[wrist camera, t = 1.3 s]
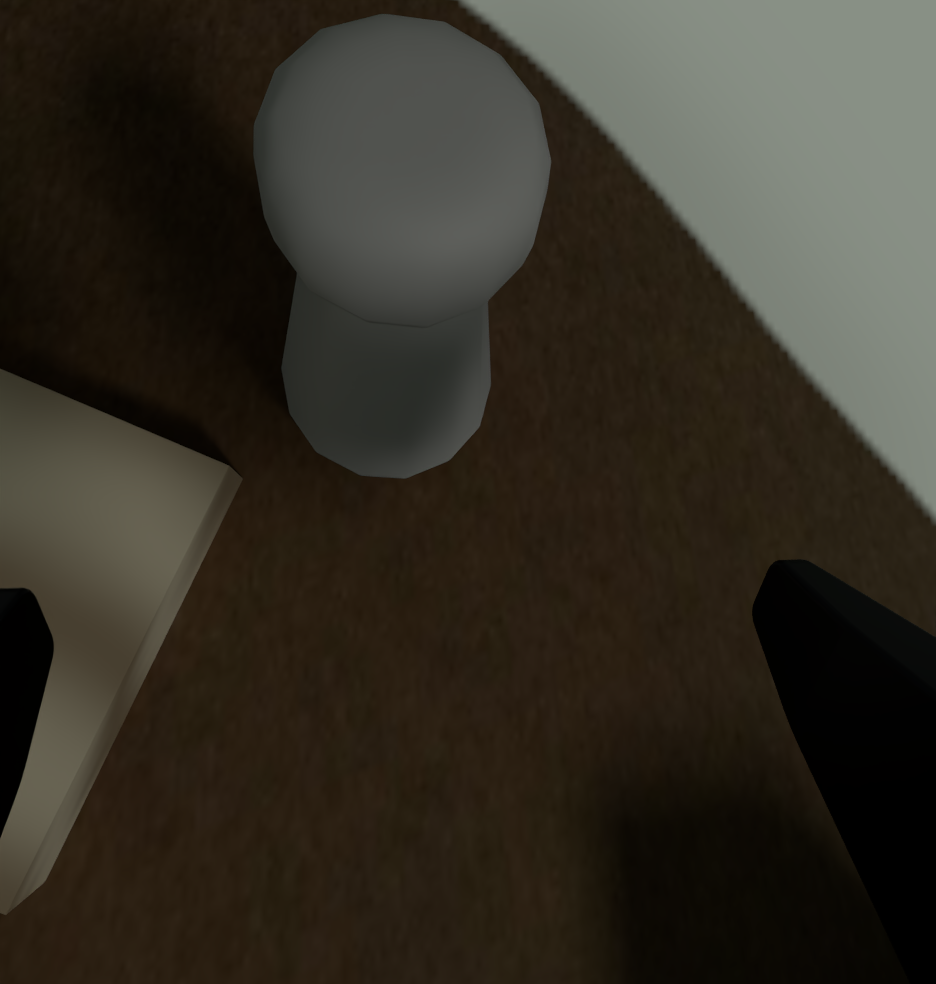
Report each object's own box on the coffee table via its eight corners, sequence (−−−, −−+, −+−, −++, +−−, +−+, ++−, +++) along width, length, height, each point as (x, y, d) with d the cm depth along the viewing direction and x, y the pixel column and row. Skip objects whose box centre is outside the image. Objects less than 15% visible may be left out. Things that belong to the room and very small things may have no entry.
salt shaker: (257, 433, 21) (79, 170, 8) (350, 284, 22) (318, -148, 9) (425, 525, 21) (502, 405, 8) (508, 371, 22) (685, 65, 10)
